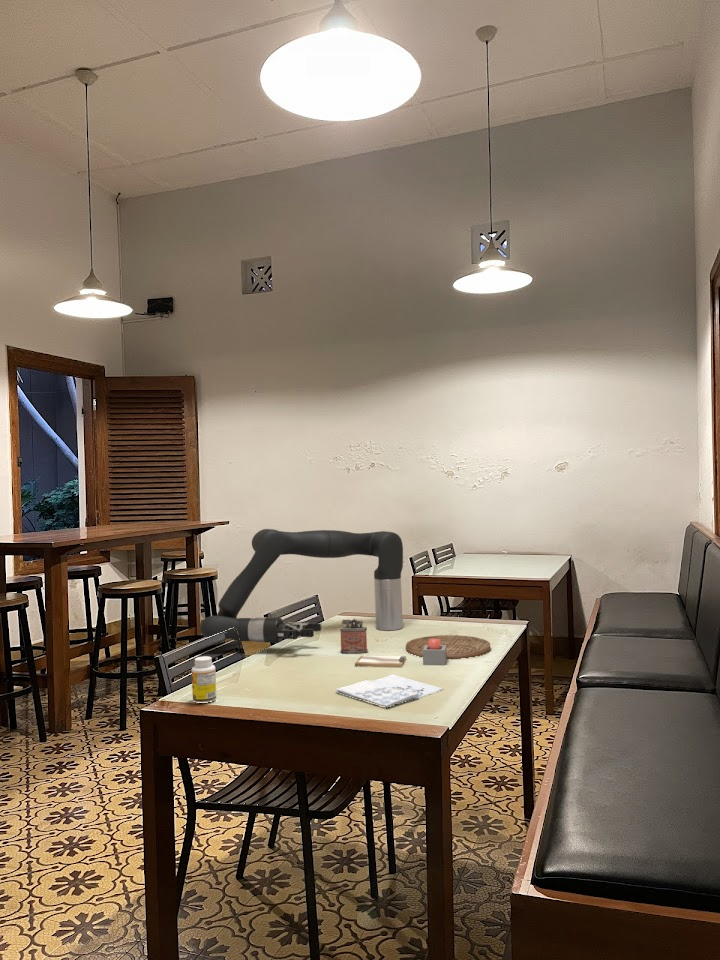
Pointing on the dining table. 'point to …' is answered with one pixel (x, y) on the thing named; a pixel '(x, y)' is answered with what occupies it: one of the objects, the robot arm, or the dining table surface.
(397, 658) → the clipboard
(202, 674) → the supplement bottle
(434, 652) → the button box
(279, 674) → the dining table surface
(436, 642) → the button
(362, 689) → the folded patterned cloth
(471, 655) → the trivet
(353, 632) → the lighter
